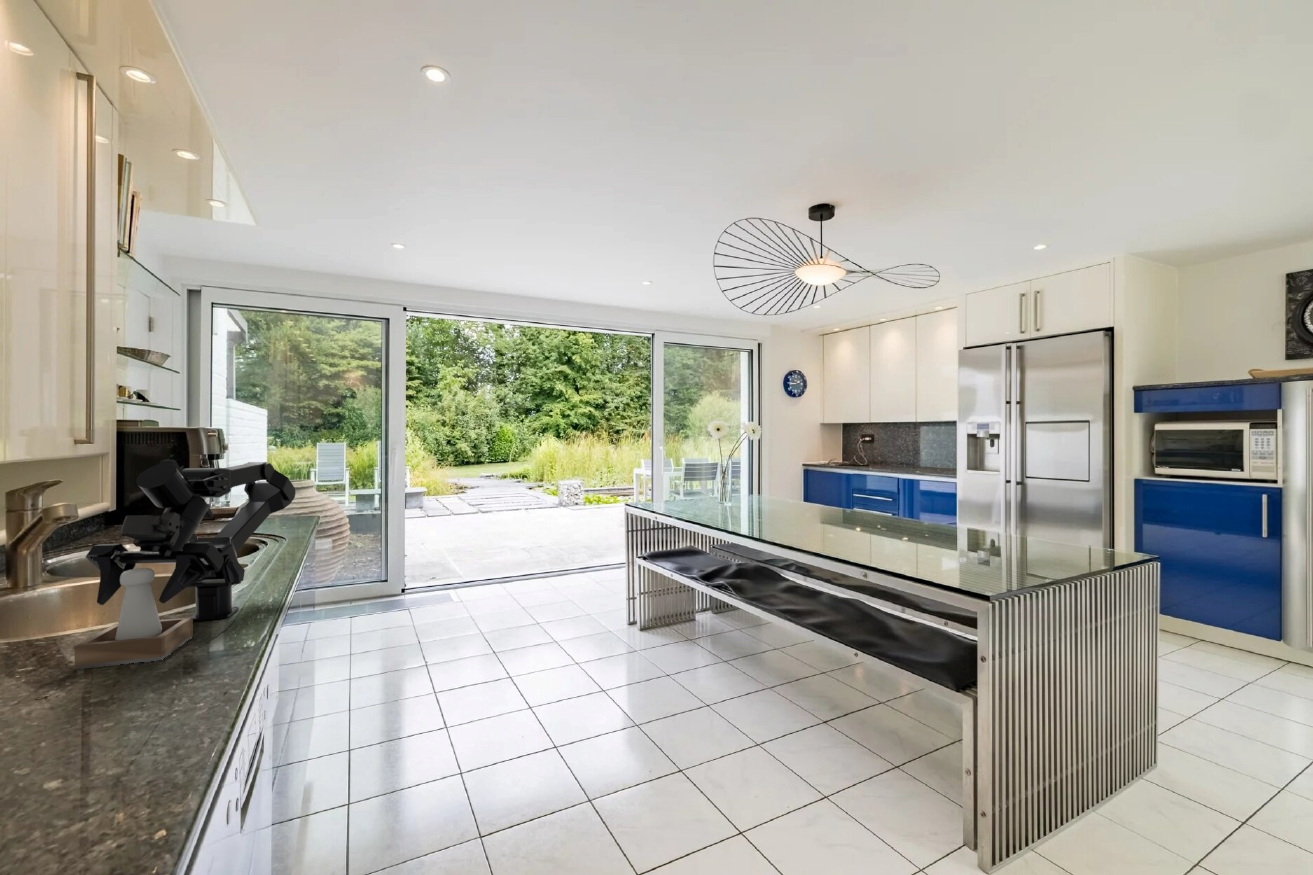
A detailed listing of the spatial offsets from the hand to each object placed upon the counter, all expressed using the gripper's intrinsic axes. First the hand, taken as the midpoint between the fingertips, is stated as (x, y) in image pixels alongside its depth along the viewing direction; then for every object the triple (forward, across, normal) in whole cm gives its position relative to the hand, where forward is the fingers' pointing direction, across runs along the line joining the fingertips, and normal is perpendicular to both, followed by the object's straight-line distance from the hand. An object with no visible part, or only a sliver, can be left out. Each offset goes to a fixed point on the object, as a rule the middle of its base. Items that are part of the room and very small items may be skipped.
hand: (130, 602), depth 95 cm
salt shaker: (+5, 0, +7) cm, 8 cm away
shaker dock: (+5, 0, +7) cm, 9 cm away
